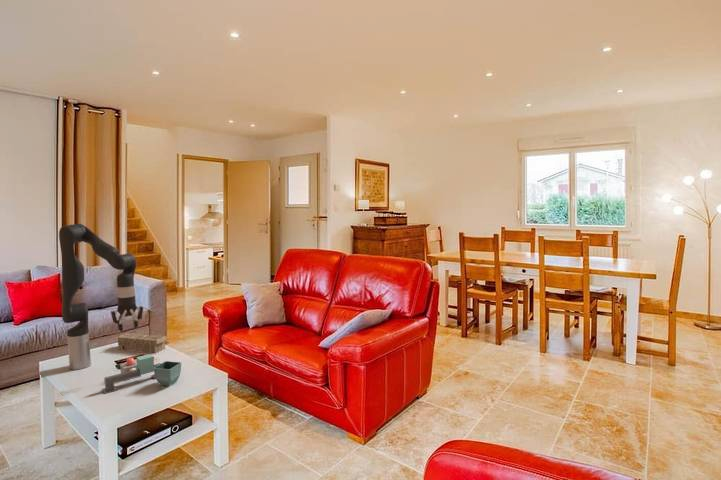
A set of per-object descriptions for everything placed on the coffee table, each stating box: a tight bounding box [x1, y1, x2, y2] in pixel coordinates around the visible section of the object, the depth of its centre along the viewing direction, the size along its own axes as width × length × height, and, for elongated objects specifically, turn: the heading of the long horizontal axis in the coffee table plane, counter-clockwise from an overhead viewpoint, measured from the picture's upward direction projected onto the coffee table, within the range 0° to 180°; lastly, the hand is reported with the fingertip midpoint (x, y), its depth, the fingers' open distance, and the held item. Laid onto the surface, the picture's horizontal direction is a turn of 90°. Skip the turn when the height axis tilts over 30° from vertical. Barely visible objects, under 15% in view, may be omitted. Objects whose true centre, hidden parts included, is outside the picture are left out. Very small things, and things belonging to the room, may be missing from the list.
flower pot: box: [154, 360, 182, 387], centre depth 192 cm, size 9×9×9 cm
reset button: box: [125, 357, 135, 366], centre depth 201 cm, size 3×3×4 cm
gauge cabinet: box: [119, 360, 142, 381], centre depth 201 cm, size 7×7×6 cm
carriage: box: [136, 353, 155, 375], centre depth 197 cm, size 5×6×7 cm
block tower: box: [117, 332, 168, 354], centre depth 240 cm, size 8×8×29 cm
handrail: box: [101, 362, 161, 395], centre depth 194 cm, size 5×26×6 cm, turn 134°
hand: (128, 329), depth 200 cm, fingers open, 5 cm apart
